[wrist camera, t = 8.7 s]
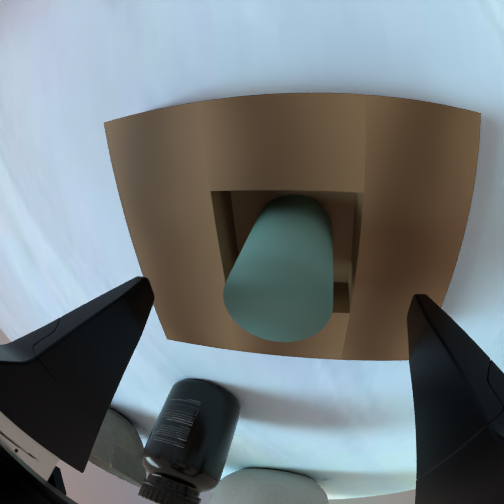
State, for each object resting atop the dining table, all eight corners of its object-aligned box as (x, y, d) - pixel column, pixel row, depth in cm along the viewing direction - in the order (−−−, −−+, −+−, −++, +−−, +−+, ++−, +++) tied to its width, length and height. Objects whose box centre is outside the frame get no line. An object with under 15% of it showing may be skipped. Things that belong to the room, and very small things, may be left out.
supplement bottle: (171, 396, 27) (127, 491, 17) (177, 366, 23) (119, 486, 13) (233, 420, 26) (199, 518, 17) (252, 395, 23) (213, 521, 13)
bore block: (448, 106, 9) (480, 113, 6) (409, 320, 15) (417, 359, 12) (142, 112, 12) (103, 122, 10) (186, 306, 18) (167, 339, 16)
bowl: (181, 432, 33) (156, 491, 25) (155, 447, 44) (137, 487, 35) (66, 362, 31) (30, 413, 23) (72, 397, 42) (49, 435, 34)
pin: (333, 195, 12) (337, 261, 7) (330, 263, 13) (327, 345, 9) (253, 193, 12) (215, 255, 8) (259, 260, 14) (230, 336, 10)
